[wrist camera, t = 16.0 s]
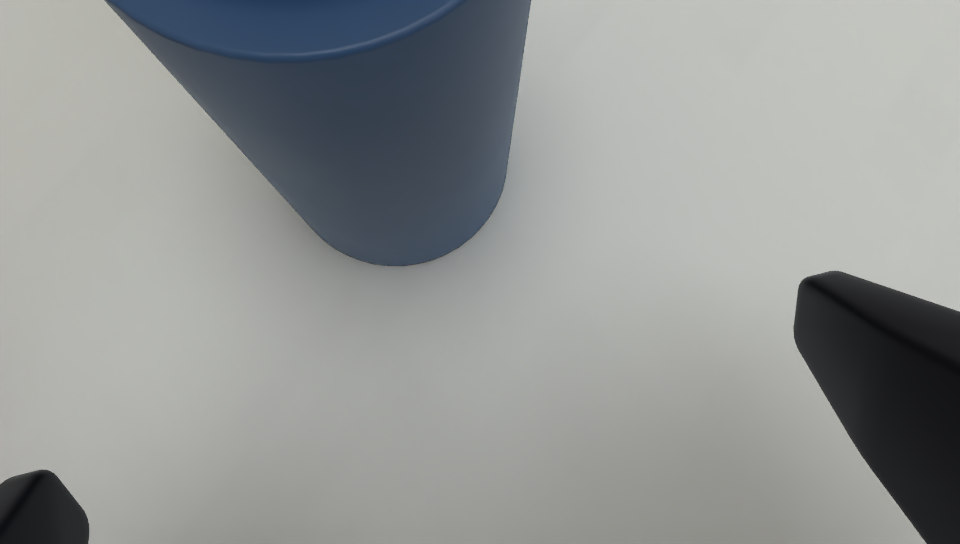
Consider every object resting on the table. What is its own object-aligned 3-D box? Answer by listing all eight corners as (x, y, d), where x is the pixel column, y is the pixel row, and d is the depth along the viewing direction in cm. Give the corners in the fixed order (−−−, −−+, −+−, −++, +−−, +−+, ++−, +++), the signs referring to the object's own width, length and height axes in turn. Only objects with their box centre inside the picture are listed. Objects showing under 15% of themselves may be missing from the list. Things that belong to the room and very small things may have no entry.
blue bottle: (484, 285, 16) (525, -139, 4) (264, 243, 17) (-445, -310, 4) (524, 80, 17) (667, -815, 5) (317, 41, 18) (-100, -930, 5)
